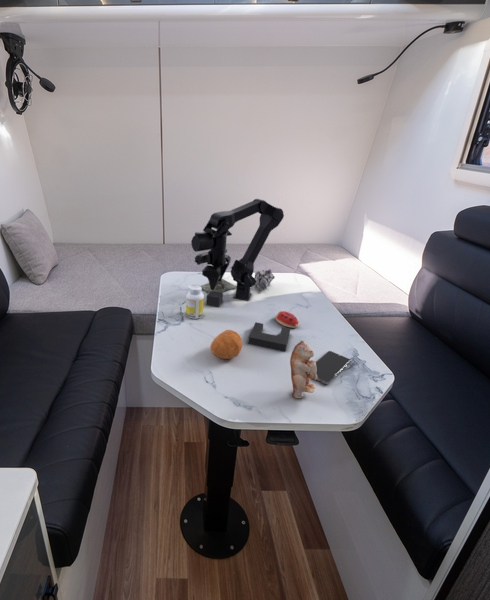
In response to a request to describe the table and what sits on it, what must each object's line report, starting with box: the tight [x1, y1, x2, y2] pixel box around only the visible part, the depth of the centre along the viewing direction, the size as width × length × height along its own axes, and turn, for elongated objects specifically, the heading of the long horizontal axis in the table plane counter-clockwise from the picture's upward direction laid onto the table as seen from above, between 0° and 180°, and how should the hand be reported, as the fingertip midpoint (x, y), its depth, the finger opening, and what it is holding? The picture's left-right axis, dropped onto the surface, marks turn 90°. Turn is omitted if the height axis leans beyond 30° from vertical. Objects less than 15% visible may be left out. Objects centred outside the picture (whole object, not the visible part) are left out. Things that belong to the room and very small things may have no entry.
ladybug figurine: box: [275, 310, 299, 329], centre depth 135 cm, size 7×10×4 cm
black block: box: [205, 291, 224, 308], centre depth 149 cm, size 5×5×4 cm
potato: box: [210, 329, 243, 360], centre depth 115 cm, size 9×11×8 cm
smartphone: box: [314, 350, 352, 385], centre depth 111 cm, size 7×1×16 cm
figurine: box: [289, 340, 317, 399], centre depth 98 cm, size 6×8×15 cm
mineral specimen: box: [253, 268, 276, 291], centre depth 164 cm, size 12×9×10 cm
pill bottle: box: [185, 284, 205, 320], centre depth 138 cm, size 6×6×12 cm
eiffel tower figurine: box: [200, 278, 237, 293], centre depth 161 cm, size 15×10×13 cm
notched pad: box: [247, 321, 291, 352], centre depth 125 cm, size 11×12×2 cm
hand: (215, 285), depth 147 cm, fingers open, 9 cm apart
